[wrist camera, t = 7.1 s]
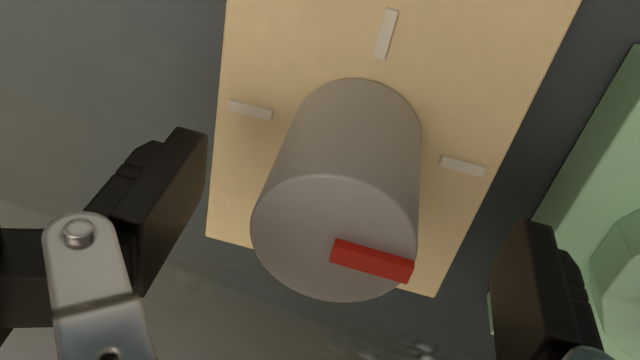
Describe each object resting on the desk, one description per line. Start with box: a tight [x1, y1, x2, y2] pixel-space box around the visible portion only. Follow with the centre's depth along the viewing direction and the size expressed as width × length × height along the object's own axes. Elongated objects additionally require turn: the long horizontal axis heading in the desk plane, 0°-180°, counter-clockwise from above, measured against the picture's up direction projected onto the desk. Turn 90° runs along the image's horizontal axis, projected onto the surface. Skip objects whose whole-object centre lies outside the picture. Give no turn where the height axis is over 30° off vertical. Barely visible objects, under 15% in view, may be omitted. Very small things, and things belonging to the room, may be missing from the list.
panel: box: [206, 0, 582, 298], centre depth 18 cm, size 12×9×3 cm
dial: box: [250, 79, 422, 303], centre depth 14 cm, size 4×4×5 cm
